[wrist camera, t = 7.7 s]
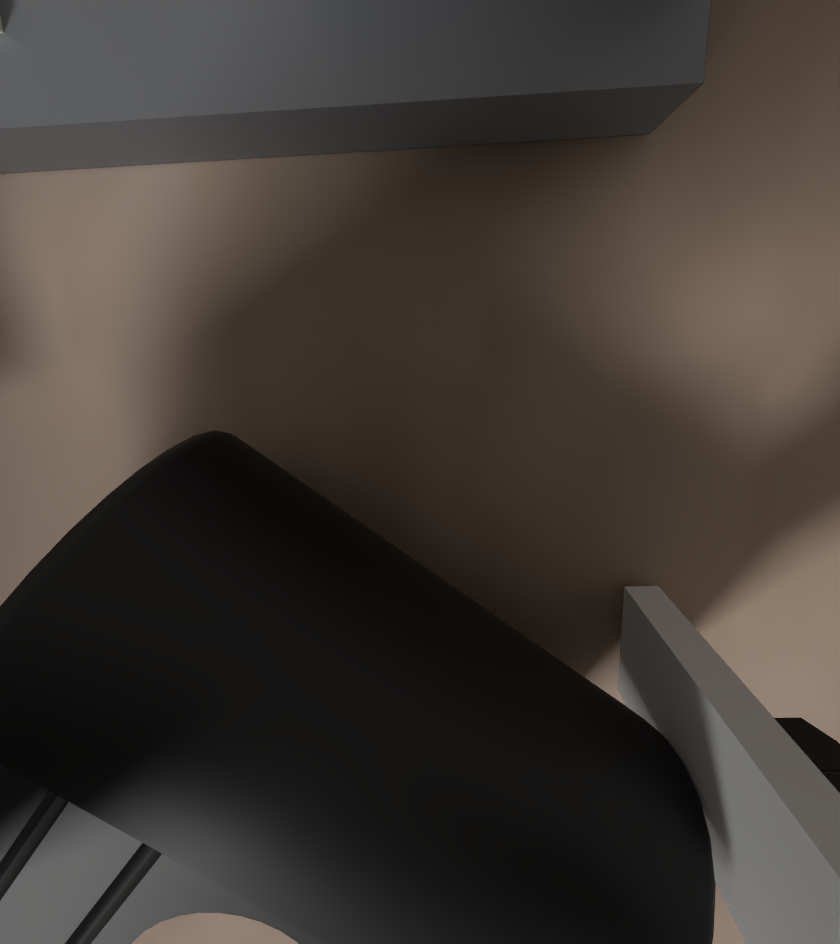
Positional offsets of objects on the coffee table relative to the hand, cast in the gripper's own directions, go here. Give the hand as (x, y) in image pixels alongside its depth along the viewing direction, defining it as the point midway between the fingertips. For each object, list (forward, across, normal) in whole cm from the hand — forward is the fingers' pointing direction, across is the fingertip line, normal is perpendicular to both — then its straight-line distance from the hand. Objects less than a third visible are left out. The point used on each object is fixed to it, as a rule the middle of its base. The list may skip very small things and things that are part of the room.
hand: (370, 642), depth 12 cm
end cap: (+1, 0, 0) cm, 1 cm away
